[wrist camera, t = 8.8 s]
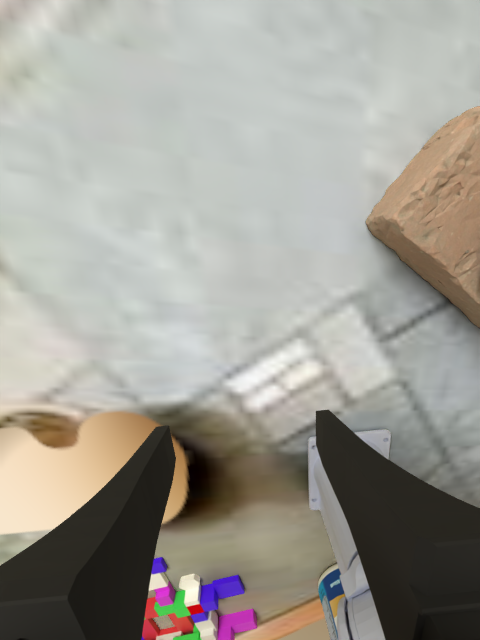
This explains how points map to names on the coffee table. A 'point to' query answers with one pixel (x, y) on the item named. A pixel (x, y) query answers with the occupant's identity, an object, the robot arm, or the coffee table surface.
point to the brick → (439, 213)
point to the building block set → (193, 608)
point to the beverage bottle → (331, 597)
